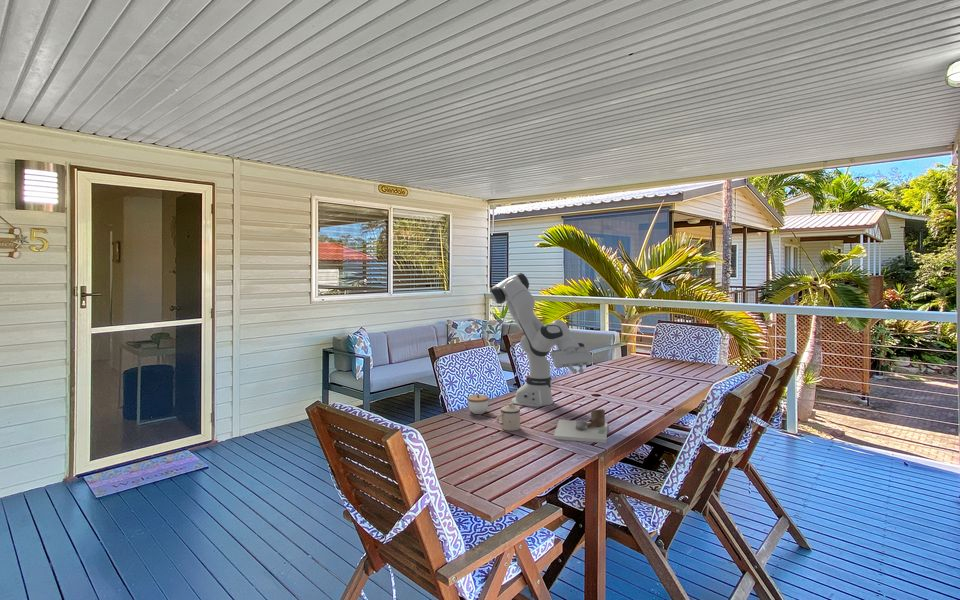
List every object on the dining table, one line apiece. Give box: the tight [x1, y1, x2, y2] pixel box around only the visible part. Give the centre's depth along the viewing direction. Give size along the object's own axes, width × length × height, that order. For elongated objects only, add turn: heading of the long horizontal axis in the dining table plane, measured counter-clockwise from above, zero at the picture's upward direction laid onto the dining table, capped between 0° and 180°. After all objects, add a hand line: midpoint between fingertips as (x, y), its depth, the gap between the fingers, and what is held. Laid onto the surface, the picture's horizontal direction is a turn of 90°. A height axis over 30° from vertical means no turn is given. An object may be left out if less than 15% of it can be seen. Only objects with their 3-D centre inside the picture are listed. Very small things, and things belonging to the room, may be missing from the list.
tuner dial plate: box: [553, 419, 608, 444], centre depth 225 cm, size 22×22×2 cm
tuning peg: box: [575, 408, 606, 430], centre depth 226 cm, size 14×5×7 cm, turn 109°
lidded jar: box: [467, 393, 490, 415], centre depth 257 cm, size 11×11×9 cm
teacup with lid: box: [496, 402, 521, 432], centre depth 231 cm, size 12×9×12 cm
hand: (578, 372), depth 239 cm, fingers open, 2 cm apart
